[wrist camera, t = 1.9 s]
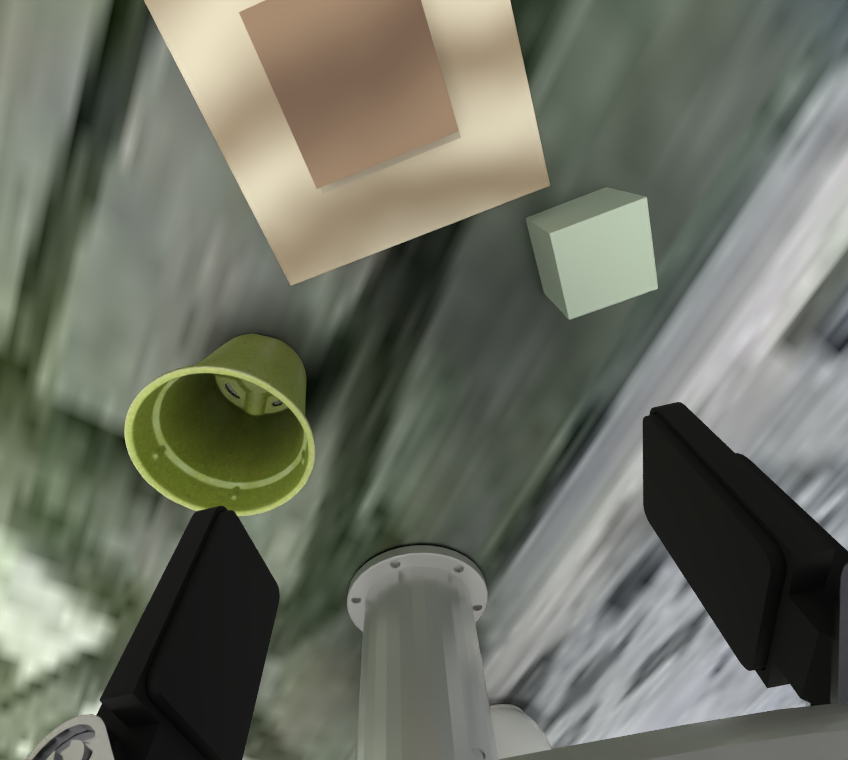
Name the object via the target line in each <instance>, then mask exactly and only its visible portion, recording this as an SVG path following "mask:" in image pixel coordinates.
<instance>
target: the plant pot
mask: <svg viewBox="0 0 848 760" xmlns="http://www.w3.org/2000/svg"><path fill="white" fill-rule="evenodd" d="M226 383H229V384H230V385H231V387H232V388H233V390H234V391H235V392H236V393H237V394H238V396H239V397H240V398H237V397H235V396H233V395H232V394H231V393H230V392H229V391H228V390H227V388H226V385H225V384H226ZM278 400H281V401H282V402H283V403H282V404H281V405H278V406H274V405H272V404H273V402H276V401H278ZM305 401H306V372H305V368H304V365H303V363H302V361H301V359H300V358H299V356H298V355H297V353H296V352H295V351H294V350H293V349H292V348H291V347H289V346H288V345H287V344H286V343H284V342H283V341H281V340H279V339H275V338H271V337H267V336H262V335H258V334H245V335H241V336H238V337H235V338H233V339H231V340H229V341H228V342H226V343H225V344H224V345H222V346H221V347H219V348H218V349H217V350H215V351H214V352H213V353H211V354H210V355H209V356H207V357H206V358H205V359H203V360H202V361H200V362H199V363H197V364H196V365H193V366H187V367H183V368H179V369H175V370H172V371H170V372H167V373H165V374H163V375H161V376H159V377H158V378H156V379H155V380H153V381H152V382H151V383H149V384H148V385H147V386H146V387H145V388H144V389H143V390H142V391H141V392H140V393H139V394H138V395H137V396H136V398H135V399H134V401H133V402H132V404H131V406H130V408H129V410H128V413H127V417H126V421H125V442H126V446H127V450H128V453H129V455H130V458H131V460H132V462H133V463H134V465H135V467H136V468H137V470H138V471H139V472H140V474H141V475H142V477H143V478H144V479H145V480H146V481H147V482H148V483H149V484H150V485H151V486H152V487H154V488H155V489H156V490H157V491H159V492H160V493H161V494H163V495H164V496H166V497H167V498H169V499H170V500H172V501H174V502H176V503H179V504H181V505H183V506H185V507H187V508H189V509H192V510H195V511H199V510H204V509H208V508H212V507H217V506H224V507H226V508H227V509H228V510H233V511H234V512H235V513H236V514H237V516H245V515H254V514H259V513H263V512H266V511H269V510H271V509H274V508H276V507H278V506H280V505H282V504H284V503H285V502H287V501H288V500H290V499H291V498H292V497H293V496H294V495H296V494H297V493H298V492H299V491H300V490H301V489H302V487H303V486H304V485H305V484H306V482H307V480H308V478H309V476H310V474H311V471H312V468H313V465H314V460H315V441H314V436H313V433H312V429H311V427H310V424H309V422H308V420H307V418H306V416H305Z"/></svg>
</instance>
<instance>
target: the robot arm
mask: <svg viewBox="0 0 848 760" xmlns="http://www.w3.org/2000/svg"><path fill="white" fill-rule="evenodd" d="M643 505H644V511H645V514H646V517H647V519H648V521H649V523H650V524H651V526H652V527H653V529H654V531H655V532H656V534H657V535H658V537H659V538H660V540H661V541H662V543H663V544H664V546H665V548H666V549H667V551H668V552H669V554H670V555H671V557H672V558H673V560H674V561H675V563H676V564H677V566H678V568H679V569H680V571H681V572H682V574H683V575H684V577H685V578H686V580H687V581H688V583H689V584H690V586H691V588H692V589H693V591H694V592H695V594H696V595H697V597H698V598H699V600H700V601H701V603H702V604H703V606H704V608H705V609H706V611H707V612H708V614H709V615H710V617H711V618H712V620H713V621H714V623H715V625H716V626H717V628H718V629H719V631H720V632H721V634H722V635H723V637H724V638H725V640H726V641H727V643H728V645H729V646H730V648H731V649H732V651H733V652H734V654H735V655H736V657H737V658H738V660H739V661H740V663H741V664H742V665H743V666H744V667H745V668H746V669H747V670H749V671H751V670H755V671H756V672H757V674H758V675H759V677H760V678H761V680H762V681H763V683H764V684H765V686H766V687H767V688H770V687H776V686H781V685H786V684H791V686H792V687H793V689H794V690H795V691H796V693H797V694H798V696H799V697H800V698H801V699H803V700H805V701H806V707H798V708H789V709H780V710H773V711H767V712H761V713H755V714H749V715H743V716H737V717H731V718H724V719H718V720H712V721H706V722H700V723H694V724H688V725H682V726H676V727H671V728H665V729H660V730H654V731H649V732H644V733H638V734H633V735H627V736H622V737H616V738H611V739H605V740H600V741H594V742H589V743H583V744H578V745H573V746H567V747H562V748H556V749H551V750H545V751H540V752H534V753H529V754H524V755H519V756H513V757H508V758H503V759H499V758H498V753H497V747H496V741H495V735H494V729H493V724H492V718H491V712H490V706H489V700H488V695H487V689H486V683H485V677H484V671H483V666H482V660H481V654H480V648H479V642H478V637H477V631H476V625H475V623H476V622H477V621H478V620H479V619H480V617H481V616H482V614H483V612H484V610H485V608H486V604H487V587H486V583H485V579H484V577H483V575H482V572H481V571H480V569H479V568H478V567H477V566H476V564H475V563H473V562H472V561H471V560H470V559H468V558H467V557H466V556H464V555H462V554H460V553H458V552H456V551H453V550H449V549H446V548H443V547H436V546H430V545H415V546H407V547H401V548H397V549H393V550H390V551H387V552H385V553H383V554H380V555H378V556H376V557H374V558H373V559H371V560H370V561H368V562H367V563H365V564H364V565H363V566H362V567H361V568H360V569H359V570H358V571H357V573H356V574H355V575H354V577H353V578H352V580H351V583H350V586H349V588H348V596H347V609H348V612H349V615H350V618H351V620H352V621H353V622H354V624H355V625H356V627H358V628H359V629H360V630H361V631H362V632H363V640H362V658H361V677H360V695H359V713H358V731H357V749H356V760H848V551H847V550H846V549H845V548H844V547H843V546H842V545H840V544H839V543H838V542H837V541H836V540H835V539H834V538H833V537H832V536H831V535H830V534H829V533H828V532H827V531H825V530H824V529H823V528H822V527H821V526H820V525H819V524H818V523H817V522H816V521H815V520H814V519H813V518H812V517H811V516H809V515H808V514H807V513H806V512H805V511H804V510H803V509H802V508H801V507H800V506H799V505H798V504H797V503H796V502H794V501H793V500H792V499H791V498H790V497H789V496H788V495H787V494H786V493H785V492H784V491H783V490H782V489H781V488H779V487H778V486H777V485H776V484H775V483H774V482H773V481H772V480H771V479H770V478H769V477H768V476H767V475H766V474H765V473H763V472H762V471H761V470H760V469H759V468H758V467H757V466H756V465H755V464H754V463H753V462H752V461H751V460H749V459H748V458H747V457H745V456H744V455H742V454H738V453H736V454H735V453H734V452H733V451H732V450H731V449H730V448H729V447H728V446H727V445H726V444H725V443H724V442H723V441H722V440H721V439H720V438H719V437H717V436H716V435H715V434H714V433H713V432H712V431H711V430H710V429H709V428H708V427H707V426H706V425H705V424H704V423H703V422H702V421H701V420H700V419H699V418H698V417H697V416H696V415H694V414H693V413H692V412H691V411H690V410H689V409H688V408H687V407H686V406H685V405H684V404H682V403H681V402H676V403H672V404H667V405H663V406H659V407H654V408H652V409H651V411H650V415H649V416H645V417H644V419H643ZM278 604H279V588H278V585H277V583H276V581H275V579H274V578H273V576H272V574H271V573H270V571H269V569H268V567H267V566H266V564H265V562H264V561H263V559H262V557H261V555H260V554H259V552H258V550H257V549H256V547H255V545H254V543H253V542H252V540H251V538H250V537H249V535H248V533H247V532H246V530H245V528H244V526H243V525H242V523H241V521H240V520H239V518H238V516H237V514H236V513H235V512H234V511H233V510H228V509H227V508H226V507H224V506H217V507H212V508H208V509H204V510H199V511H197V512H195V513H194V515H193V516H192V518H191V520H190V522H189V524H188V526H187V528H186V530H185V532H184V534H183V536H182V538H181V540H180V542H179V544H178V546H177V548H176V550H175V552H174V554H173V556H172V557H171V559H170V561H169V563H168V565H167V567H166V569H165V571H164V573H163V575H162V577H161V579H160V581H159V583H158V585H157V587H156V589H155V591H154V593H153V595H152V597H151V599H150V601H149V603H148V605H147V607H146V609H145V611H144V613H143V615H142V617H141V619H140V621H139V623H138V625H137V627H136V629H135V631H134V633H133V635H132V637H131V639H130V641H129V643H128V645H127V647H126V649H125V651H124V653H123V655H122V657H121V659H120V661H119V663H118V665H117V667H116V669H115V671H114V673H113V675H112V677H111V679H110V680H109V682H108V684H107V686H106V688H105V690H104V692H103V694H102V696H101V698H100V701H101V702H102V705H101V707H100V709H99V711H98V713H97V715H96V716H95V715H93V714H89V715H80V716H78V717H75V718H73V719H71V720H68V721H66V722H65V723H63V724H62V725H60V726H59V727H57V728H56V729H54V730H53V731H52V732H51V733H49V734H48V735H47V736H46V737H45V738H44V739H43V740H42V741H41V742H39V743H38V744H37V746H36V747H35V748H34V749H33V750H32V752H31V753H30V754H29V755H28V756H27V757H26V759H25V760H242V758H243V754H244V750H245V745H246V741H247V737H248V733H249V728H250V724H251V720H252V715H253V711H254V707H255V702H256V698H257V694H258V690H259V685H260V681H261V677H262V672H263V668H264V664H265V659H266V655H267V651H268V647H269V642H270V638H271V634H272V629H273V625H274V621H275V617H276V612H277V608H278Z"/></svg>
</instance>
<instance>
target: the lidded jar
mask: <svg viewBox="0 0 848 760" xmlns="http://www.w3.org/2000/svg"><path fill="white" fill-rule="evenodd" d="M490 712H491V718H492V724H493V729H494V735H495V741H496V747H497V753H498V758H499V759H503V758H508V757H513V756H519V755H524V754H529V753H534V752H540V751H545V750H551V749H552V748H551V746H550V743H549V741H548V739H547V737H546V735H545V734H544V732H543V731H542V729H541V728H540V727H539V725H538V724H537V723H536V722H535V721H534V720H533V719H532V718H530V717H529V716H528V715H526V714H525V713H524V712H523V710H522V709H521V708H519V707H517V706H515V705H511V704H495V705H491V706H490Z"/></svg>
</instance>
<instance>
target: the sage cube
mask: <svg viewBox="0 0 848 760" xmlns="http://www.w3.org/2000/svg"><path fill="white" fill-rule="evenodd" d="M525 219H526V223H527V227H528V231H529V235H530V239H531V243H532V247H533V251H534V255H535V259H536V263H537V267H538V271H539V275H540V279H541V283H542V287H543V291H544V294H545V295H546V296H547V297H548V298H549V299H550V300H551V301H552V302H553V303H554V304H555V305H556V306H557V307H558V309H559V310H560V311H561V312H562V313H563V314H564V315H565V316H566V317H567V318H568V319H569V320H570V319H573V318H576V317H579V316H582V315H585V314H587V313H590V312H593V311H596V310H599V309H602V308H604V307H607V306H610V305H613V304H616V303H619V302H621V301H624V300H627V299H630V298H633V297H635V296H638V295H641V294H644V293H647V292H650V291H652V290H655V289H658V283H657V275H656V268H655V260H654V252H653V244H652V236H651V228H650V220H649V212H648V204H647V197H644V196H640V195H636V194H632V193H629V192H625V191H621V190H617V189H613V188H609V187H605V188H603V189H600V190H597V191H595V192H592V193H589V194H587V195H584V196H582V197H579V198H576V199H574V200H571V201H568V202H566V203H563V204H561V205H558V206H555V207H553V208H550V209H548V210H545V211H542V212H540V213H537V214H534V215H532V216H529V217H527V218H525Z"/></svg>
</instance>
